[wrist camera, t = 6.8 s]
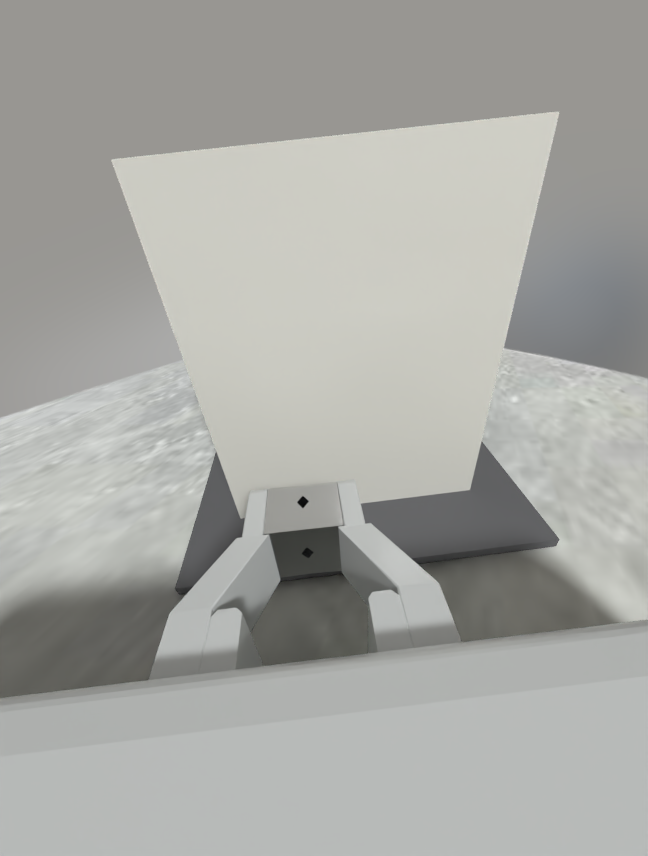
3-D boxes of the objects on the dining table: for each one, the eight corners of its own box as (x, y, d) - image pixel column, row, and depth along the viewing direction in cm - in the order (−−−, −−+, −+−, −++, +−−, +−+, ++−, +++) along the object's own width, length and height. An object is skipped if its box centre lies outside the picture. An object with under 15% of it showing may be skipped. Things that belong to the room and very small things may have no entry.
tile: (469, 489, 14) (559, 111, 7) (240, 518, 14) (111, 159, 7) (453, 464, 16) (516, 125, 9) (245, 490, 15) (140, 166, 9)
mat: (556, 546, 12) (559, 539, 12) (179, 594, 12) (175, 588, 12) (410, 357, 27) (411, 352, 27) (241, 377, 27) (239, 372, 26)
